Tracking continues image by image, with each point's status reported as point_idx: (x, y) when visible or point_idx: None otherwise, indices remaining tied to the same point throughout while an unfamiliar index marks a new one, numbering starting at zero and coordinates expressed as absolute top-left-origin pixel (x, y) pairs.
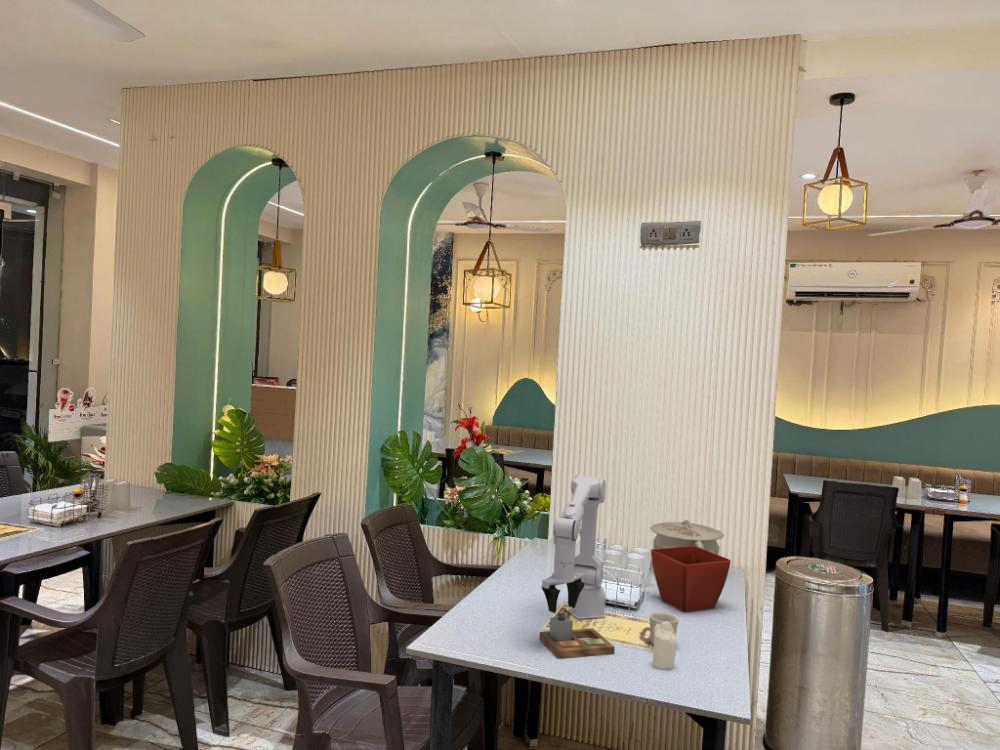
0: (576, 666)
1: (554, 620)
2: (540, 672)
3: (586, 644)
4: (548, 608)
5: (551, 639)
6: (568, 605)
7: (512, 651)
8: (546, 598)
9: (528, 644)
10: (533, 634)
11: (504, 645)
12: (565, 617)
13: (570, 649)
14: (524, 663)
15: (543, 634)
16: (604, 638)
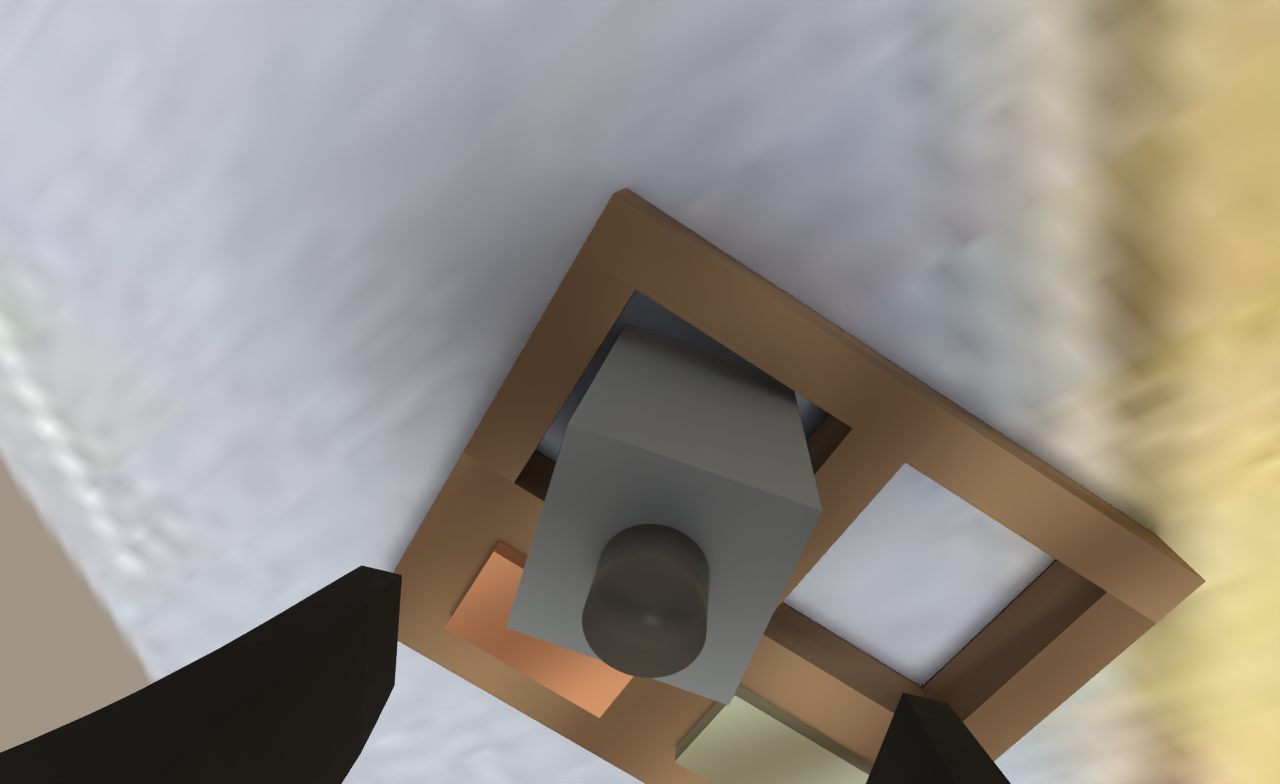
0: (405, 731)
1: (540, 519)
2: (114, 606)
3: (697, 720)
4: (322, 591)
5: (534, 428)
6: (904, 702)
7: (161, 199)
8: (92, 728)
9: (415, 198)
10: (694, 32)
11: (181, 22)
12: (770, 578)
13: (482, 673)
14: (102, 438)
15: (581, 278)
16: None
